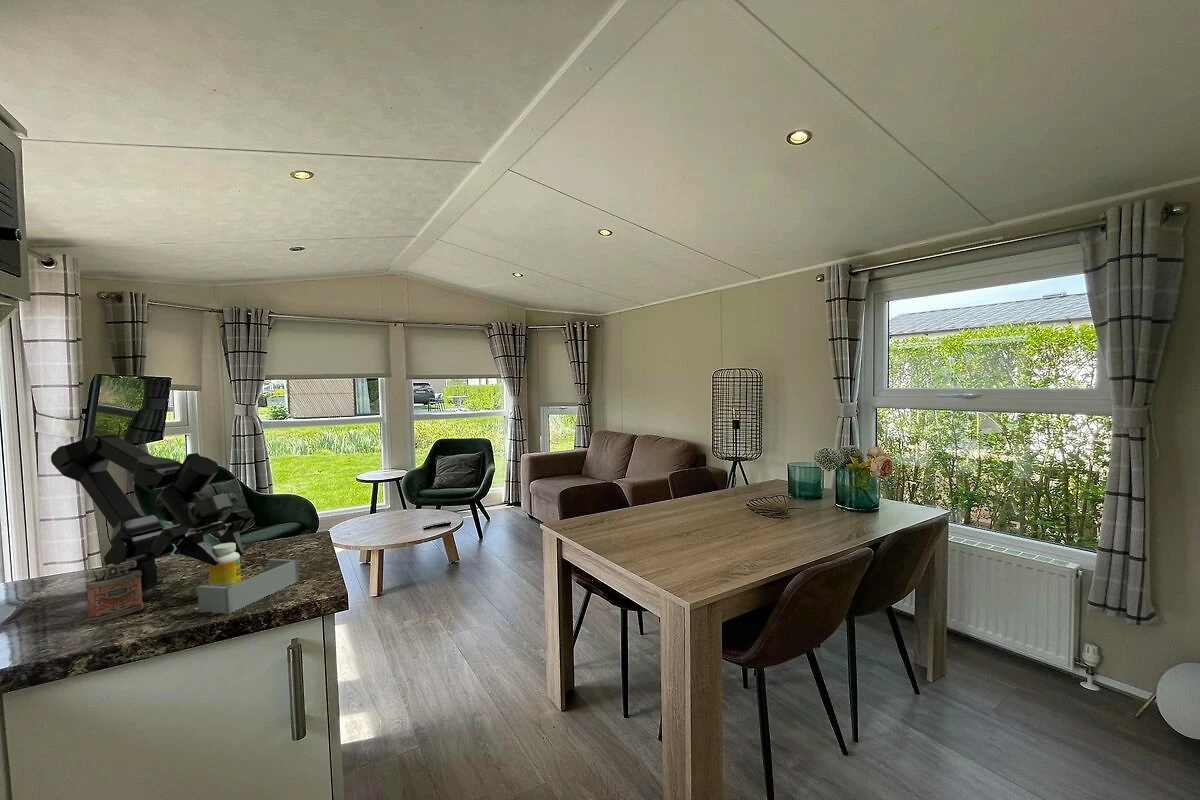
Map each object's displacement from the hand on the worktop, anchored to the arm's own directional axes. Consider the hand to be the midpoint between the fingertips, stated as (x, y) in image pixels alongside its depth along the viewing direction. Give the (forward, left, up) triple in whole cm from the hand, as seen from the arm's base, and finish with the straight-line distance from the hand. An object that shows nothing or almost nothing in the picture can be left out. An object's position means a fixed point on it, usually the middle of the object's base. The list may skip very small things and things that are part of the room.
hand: (229, 559), depth 106 cm
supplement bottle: (-1, 0, -7) cm, 7 cm away
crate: (+5, -1, -8) cm, 9 cm away
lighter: (-16, -9, -8) cm, 20 cm away
